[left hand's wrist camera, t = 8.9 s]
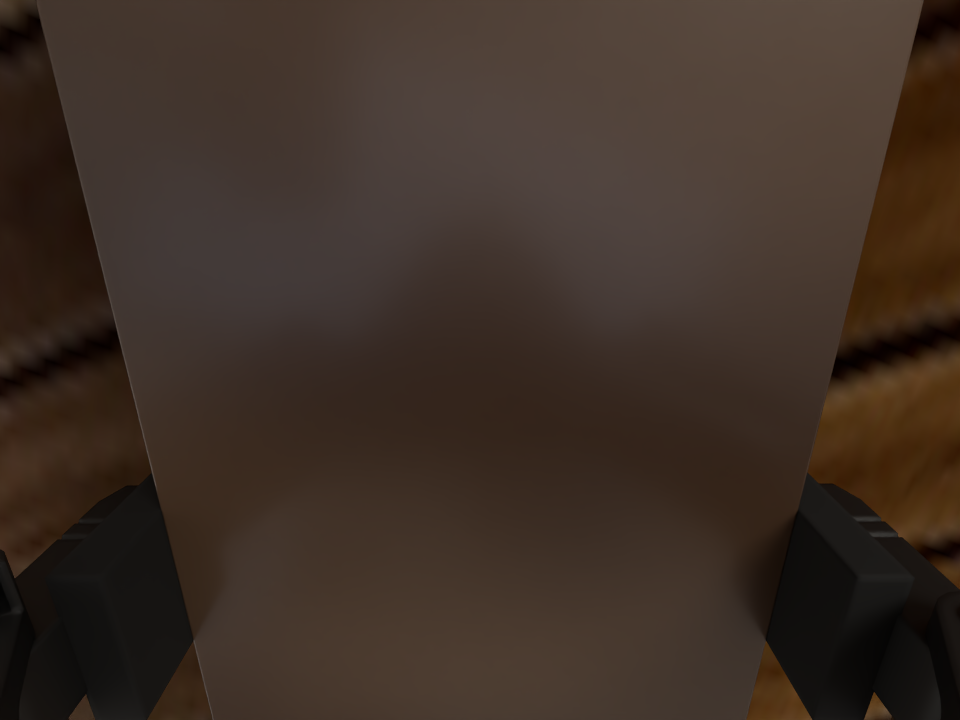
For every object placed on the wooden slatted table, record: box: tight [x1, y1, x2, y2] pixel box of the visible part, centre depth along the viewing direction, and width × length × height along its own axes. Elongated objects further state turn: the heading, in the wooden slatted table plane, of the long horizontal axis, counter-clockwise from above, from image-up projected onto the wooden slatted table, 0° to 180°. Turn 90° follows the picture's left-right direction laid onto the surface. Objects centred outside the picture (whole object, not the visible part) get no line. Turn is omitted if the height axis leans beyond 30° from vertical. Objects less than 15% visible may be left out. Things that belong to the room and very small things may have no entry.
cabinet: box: [36, 0, 924, 720], centre depth 12 cm, size 18×10×9 cm, turn 0°
